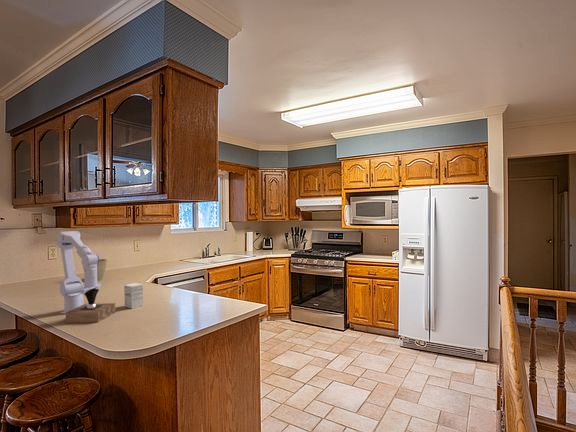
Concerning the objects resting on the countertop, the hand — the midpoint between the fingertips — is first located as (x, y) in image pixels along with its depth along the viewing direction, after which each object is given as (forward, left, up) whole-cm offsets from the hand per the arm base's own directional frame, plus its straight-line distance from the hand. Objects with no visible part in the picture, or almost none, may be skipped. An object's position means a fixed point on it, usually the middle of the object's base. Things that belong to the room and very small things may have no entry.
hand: (91, 304), depth 170 cm
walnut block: (0, 0, -7) cm, 7 cm away
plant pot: (-99, -54, -7) cm, 113 cm away
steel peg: (0, 0, -6) cm, 6 cm away
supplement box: (-19, +13, -7) cm, 24 cm away
